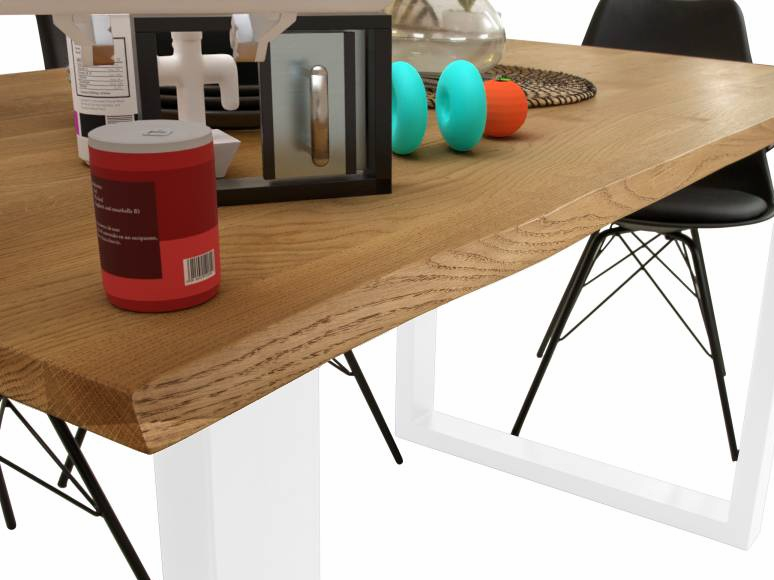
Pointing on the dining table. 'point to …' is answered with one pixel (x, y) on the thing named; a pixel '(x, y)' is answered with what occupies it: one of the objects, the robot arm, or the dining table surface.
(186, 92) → the white faucet
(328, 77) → the window pane
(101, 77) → the supplement can
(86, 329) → the dining table surface
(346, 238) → the dining table surface
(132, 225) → the canned food
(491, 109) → the clementine
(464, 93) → the donuts
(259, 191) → the window frame
